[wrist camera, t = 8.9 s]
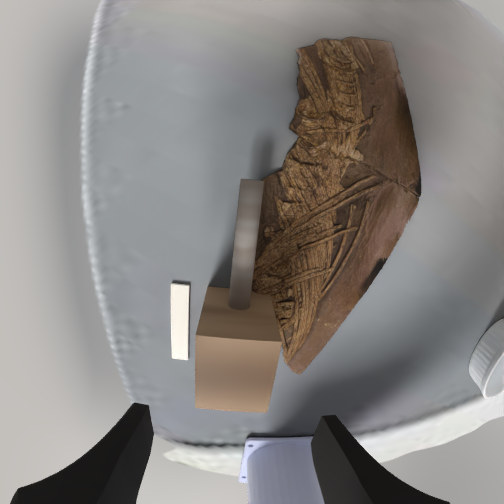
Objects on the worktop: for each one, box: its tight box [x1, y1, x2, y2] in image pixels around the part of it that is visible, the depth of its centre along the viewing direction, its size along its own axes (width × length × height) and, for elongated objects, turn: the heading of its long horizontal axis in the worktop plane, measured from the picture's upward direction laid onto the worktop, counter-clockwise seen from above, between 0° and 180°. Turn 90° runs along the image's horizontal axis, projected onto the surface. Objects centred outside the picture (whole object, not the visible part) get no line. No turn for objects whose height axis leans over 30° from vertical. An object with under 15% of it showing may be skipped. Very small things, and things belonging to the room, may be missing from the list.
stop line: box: [171, 283, 190, 360], centre depth 19 cm, size 6×1×1 cm, turn 174°
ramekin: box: [469, 319, 504, 399], centre depth 20 cm, size 9×9×4 cm
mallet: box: [195, 179, 282, 412], centre depth 15 cm, size 12×4×6 cm, turn 174°
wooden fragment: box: [251, 37, 421, 375], centre depth 17 cm, size 26×11×1 cm, turn 164°
